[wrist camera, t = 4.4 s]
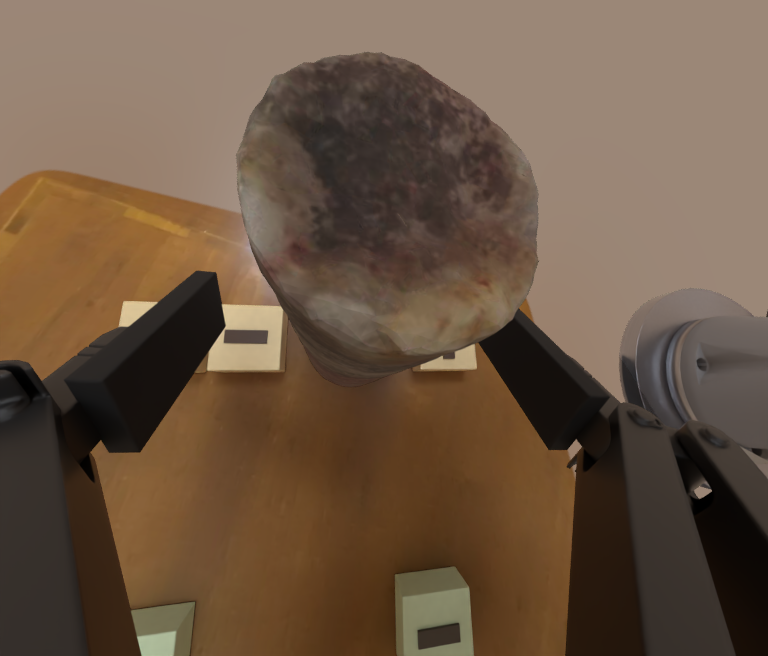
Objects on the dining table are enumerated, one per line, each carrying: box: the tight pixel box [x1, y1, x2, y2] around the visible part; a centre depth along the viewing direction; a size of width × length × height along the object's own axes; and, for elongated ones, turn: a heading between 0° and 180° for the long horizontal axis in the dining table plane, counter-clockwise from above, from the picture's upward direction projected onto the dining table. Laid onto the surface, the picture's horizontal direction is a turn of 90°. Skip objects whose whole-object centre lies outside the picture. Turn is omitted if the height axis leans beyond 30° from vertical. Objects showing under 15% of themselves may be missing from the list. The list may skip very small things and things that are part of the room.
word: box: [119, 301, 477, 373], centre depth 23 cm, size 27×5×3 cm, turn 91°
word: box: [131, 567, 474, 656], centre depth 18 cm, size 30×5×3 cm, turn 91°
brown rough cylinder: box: [236, 52, 539, 387], centre depth 15 cm, size 8×7×20 cm
